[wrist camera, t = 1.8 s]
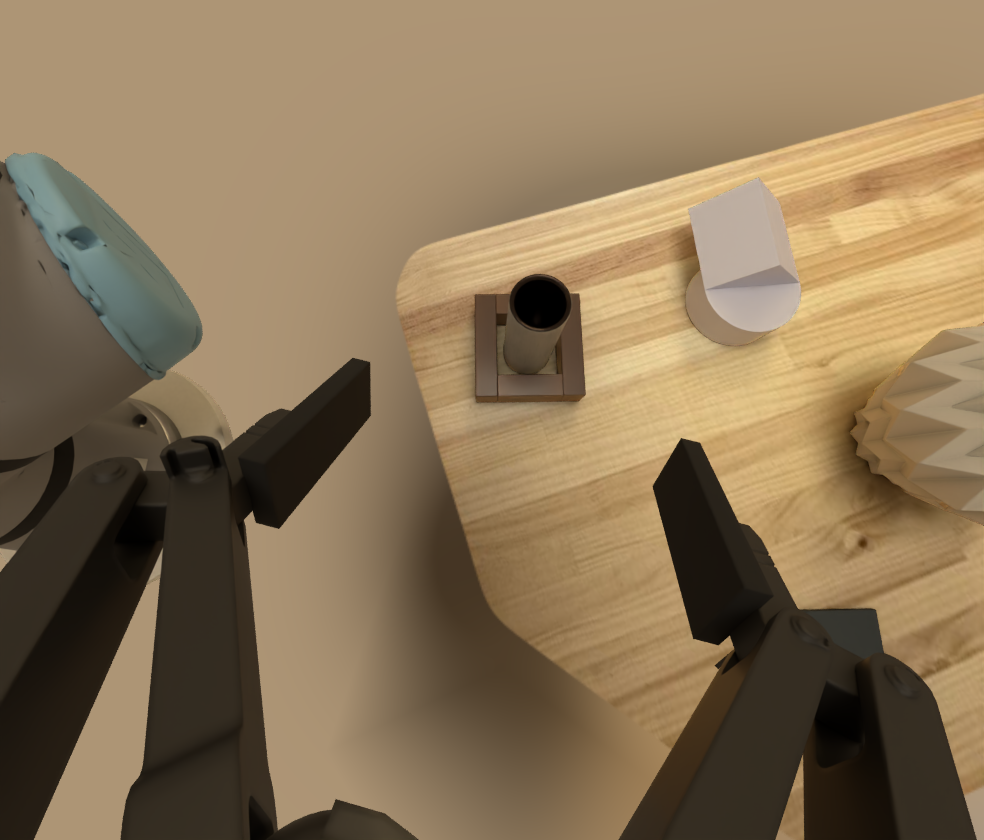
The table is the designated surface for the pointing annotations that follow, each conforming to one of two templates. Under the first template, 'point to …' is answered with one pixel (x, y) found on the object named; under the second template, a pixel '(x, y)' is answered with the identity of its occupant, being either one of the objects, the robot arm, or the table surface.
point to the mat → (851, 629)
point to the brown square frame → (526, 386)
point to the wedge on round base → (742, 266)
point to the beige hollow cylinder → (535, 322)
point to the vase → (932, 424)
